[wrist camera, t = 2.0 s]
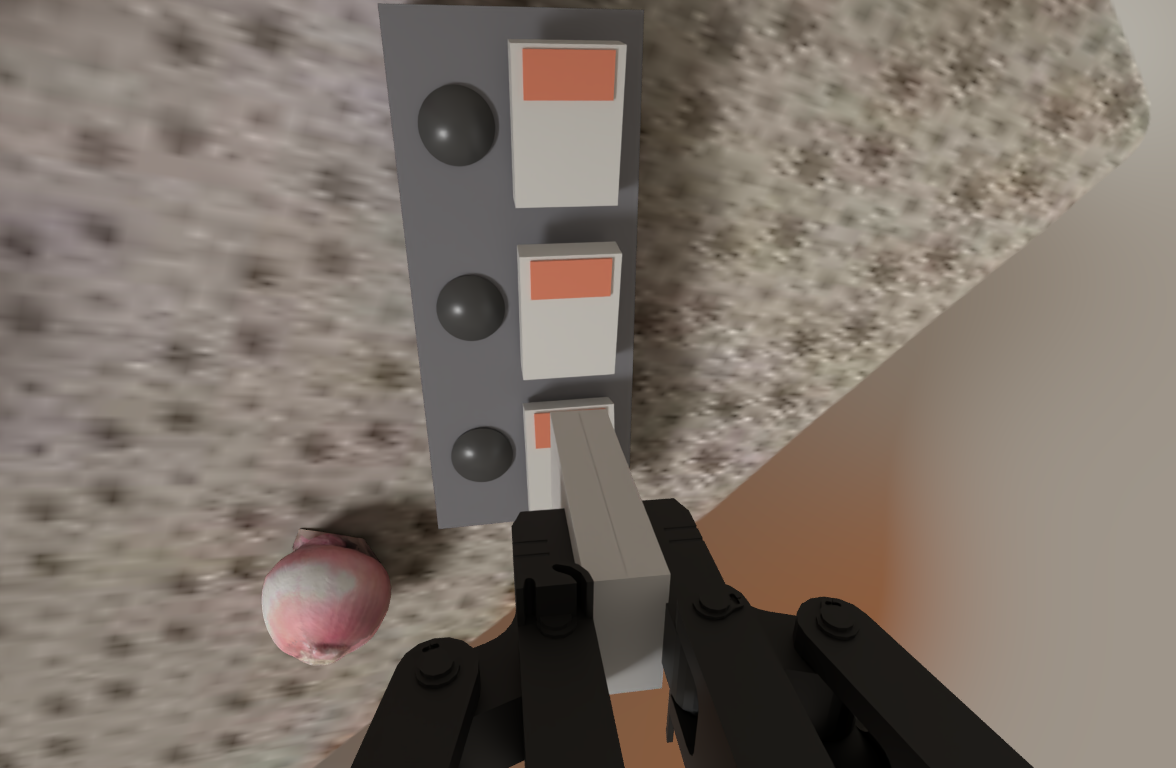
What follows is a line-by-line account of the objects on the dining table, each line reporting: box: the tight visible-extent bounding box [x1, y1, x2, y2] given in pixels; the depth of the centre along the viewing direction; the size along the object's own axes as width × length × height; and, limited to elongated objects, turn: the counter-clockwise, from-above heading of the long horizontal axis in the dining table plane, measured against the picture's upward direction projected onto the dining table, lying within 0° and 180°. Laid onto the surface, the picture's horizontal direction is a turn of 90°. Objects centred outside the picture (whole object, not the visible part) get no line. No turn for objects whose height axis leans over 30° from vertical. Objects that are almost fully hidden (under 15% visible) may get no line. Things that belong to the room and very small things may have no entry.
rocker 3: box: [523, 397, 614, 511], centre depth 37 cm, size 5×7×2 cm
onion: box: [262, 529, 391, 665], centre depth 40 cm, size 8×8×7 cm
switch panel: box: [378, 3, 644, 529], centre depth 36 cm, size 12×28×4 cm, turn 0°
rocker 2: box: [517, 241, 622, 380], centre depth 33 cm, size 5×7×2 cm
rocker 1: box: [508, 39, 627, 208], centre depth 29 cm, size 5×7×2 cm
